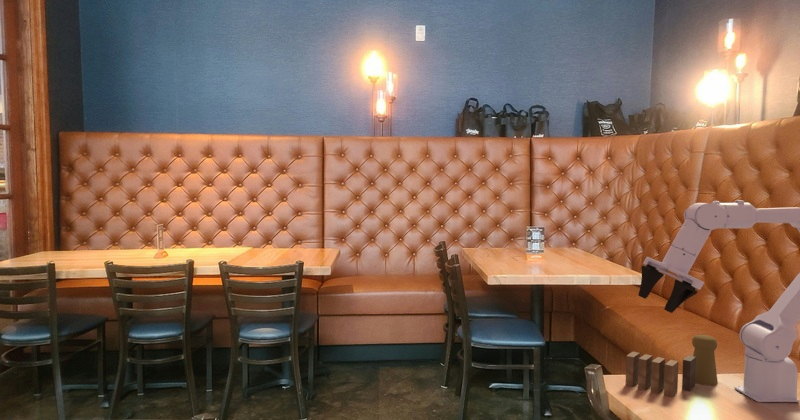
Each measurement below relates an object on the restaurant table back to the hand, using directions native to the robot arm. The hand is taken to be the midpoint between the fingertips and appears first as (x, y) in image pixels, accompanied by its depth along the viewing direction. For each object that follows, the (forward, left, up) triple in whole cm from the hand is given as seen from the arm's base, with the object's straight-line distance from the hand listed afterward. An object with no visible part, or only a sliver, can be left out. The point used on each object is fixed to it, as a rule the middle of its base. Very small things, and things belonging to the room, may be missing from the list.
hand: (654, 304), depth 119 cm
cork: (-15, -5, -20) cm, 26 cm away
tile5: (+3, -4, -20) cm, 20 cm away
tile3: (-1, 0, -20) cm, 20 cm away
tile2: (-3, +2, -20) cm, 20 cm away
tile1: (-9, -1, -20) cm, 22 cm away
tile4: (+1, -2, -20) cm, 20 cm away
